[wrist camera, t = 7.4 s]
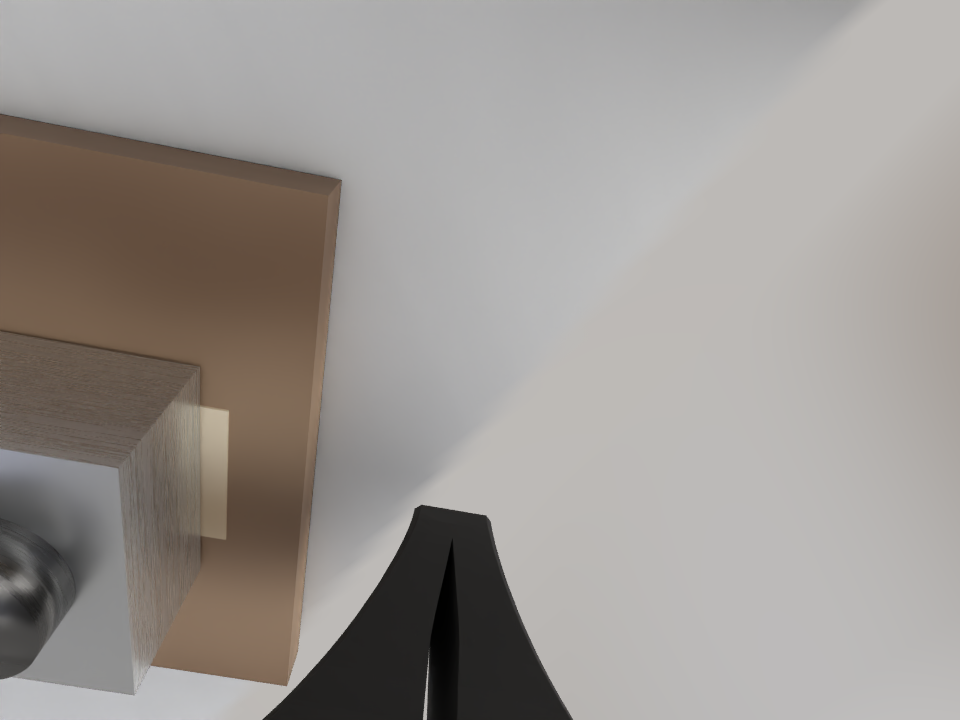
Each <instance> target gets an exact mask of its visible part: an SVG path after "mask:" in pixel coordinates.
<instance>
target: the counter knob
mask: <svg viewBox="0 0 960 720" xmlns="http://www.w3.org/2000/svg"><path fill="white" fill-rule="evenodd" d="M199 571H200V366H194V365H188V364H182V363H177V362H171V361H165V360H160V359H154V358H148V357H143V356H137V355H131V354H126V353H120V352H114V351H109V350H103V349H97V348H92V347H86V346H80V345H75V344H69V343H63V342H58V341H52V340H46V339H41V338H35V337H29V336H24V335H18V334H12V333H7V332H1V331H0V679H5V678H9V677H15V678H22V679H28V680H35V681H42V682H48V683H55V684H62V685H69V686H75V687H82V688H89V689H95V690H102V691H109V692H116V693H122V694H129V695H135V694H136V692H137V690H138V688H139V686H140V684H141V682H142V680H143V678H144V676H145V674H146V673H147V671H148V669H149V667H150V665H151V663H152V661H153V659H154V657H155V655H156V653H157V651H158V650H159V648H160V646H161V644H162V642H163V640H164V638H165V636H166V634H167V632H168V630H169V629H170V627H171V625H172V623H173V621H174V619H175V617H176V615H177V613H178V611H179V609H180V607H181V606H182V604H183V602H184V600H185V598H186V596H187V594H188V592H189V590H190V588H191V586H192V585H193V583H194V581H195V579H196V577H197V575H198V573H199Z"/></svg>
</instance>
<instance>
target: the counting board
mask: <svg viewBox="0 0 960 720" xmlns="http://www.w3.org/2000/svg"><path fill="white" fill-rule="evenodd" d="M341 181H342V180H338V179H333V178H328V177H323V176H317V175H312V174H307V173H302V172H297V171H292V170H286V169H281V168H276V167H271V166H266V165H261V164H255V163H250V162H245V161H240V160H235V159H230V158H224V157H219V156H214V155H209V154H204V153H199V152H193V151H188V150H183V149H178V148H173V147H167V146H162V145H157V144H152V143H147V142H142V141H136V140H131V139H126V138H121V137H116V136H111V135H105V134H100V133H95V132H90V131H85V130H80V129H74V128H69V127H64V126H59V125H54V124H49V123H43V122H38V121H33V120H28V119H23V118H18V117H12V116H7V115H2V114H0V331H1V332H7V333H12V334H18V335H24V336H29V337H35V338H41V339H46V340H52V341H58V342H63V343H69V344H75V345H80V346H86V347H92V348H97V349H103V350H109V351H114V352H120V353H126V354H131V355H137V356H143V357H148V358H154V359H160V360H165V361H171V362H177V363H182V364H188V365H194V366H200V571H199V573H198V575H197V577H196V579H195V581H194V583H193V585H192V586H191V588H190V590H189V592H188V594H187V596H186V598H185V600H184V602H183V604H182V606H181V607H180V609H179V611H178V613H177V615H176V617H175V619H174V621H173V623H172V625H171V627H170V629H169V630H168V632H167V634H166V636H165V638H164V640H163V642H162V644H161V646H160V648H159V650H158V651H157V653H156V655H155V657H154V659H153V661H152V663H151V666H157V667H164V668H171V669H177V670H184V671H190V672H197V673H204V674H210V675H217V676H223V677H230V678H237V679H243V680H250V681H256V682H263V683H270V684H277V685H283V686H287V684H288V681H289V678H290V675H291V671H292V668H293V665H294V662H295V659H296V655H297V652H298V645H299V634H300V623H301V612H302V602H303V591H304V580H305V569H306V558H307V548H308V537H309V526H310V515H311V505H312V494H313V483H314V472H315V461H316V451H317V440H318V429H319V418H320V408H321V397H322V386H323V375H324V364H325V354H326V343H327V332H328V321H329V311H330V300H331V289H332V278H333V267H334V257H335V246H336V235H337V224H338V214H339V203H340V192H341Z"/></svg>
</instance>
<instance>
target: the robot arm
mask: <svg viewBox="0 0 960 720" xmlns="http://www.w3.org/2000/svg"><path fill="white" fill-rule="evenodd" d="M428 657H429V674H428V705H427V720H573V719H572V717H571V715H570V714H569V712H568V710H567V709H566V707H565V705H564V704H563V702H562V700H561V698H560V697H559V695H558V693H557V691H556V690H555V688H554V686H553V684H552V682H551V681H550V679H549V677H548V675H547V673H546V671H545V669H544V667H543V665H542V663H541V661H540V659H539V657H538V655H537V653H536V651H535V649H534V647H533V645H532V643H531V640H530V638H529V636H528V634H527V631H526V629H525V627H524V625H523V622H522V620H521V617H520V615H519V613H518V610H517V607H516V605H515V602H514V600H513V597H512V594H511V592H510V589H509V587H508V584H507V581H506V578H505V575H504V572H503V569H502V566H501V563H500V559H499V556H498V552H497V549H496V545H495V541H494V537H493V532H492V527H491V522H490V520H489V519H488V518H487V516H485V515H479V514H473V513H467V512H461V511H455V510H449V509H443V508H437V507H431V506H425V505H421V506H419V507H417V508H415V510H414V514H413V518H412V521H411V523H410V526H409V529H408V531H407V533H406V535H405V538H404V540H403V542H402V544H401V546H400V547H399V549H398V551H397V553H396V555H395V557H394V559H393V561H392V562H391V564H390V565H389V567H388V569H387V570H386V572H385V574H384V575H383V577H382V579H381V581H380V582H379V584H378V585H377V587H376V588H375V590H374V591H373V593H372V594H371V596H370V597H369V598H368V600H367V601H366V603H365V604H364V606H363V607H362V609H361V610H360V611H359V613H358V614H357V616H356V617H355V619H354V620H353V621H352V622H351V624H350V625H349V626H348V628H347V629H346V630H345V632H344V633H343V634H342V635H341V636H340V638H339V639H338V641H336V643H335V644H334V645H333V646H332V648H331V649H330V650H329V651H328V652H327V654H326V655H325V656H324V657H323V658H322V659H321V660H320V662H319V663H318V664H317V665H316V666H315V667H314V668H313V669H312V670H311V671H310V672H309V674H308V675H307V676H306V677H305V678H304V679H303V680H302V681H301V682H300V683H299V685H298V686H297V687H296V688H295V689H294V690H293V691H292V692H291V693H290V694H289V695H288V696H287V697H286V698H285V699H284V700H283V701H282V702H281V703H280V704H279V705H278V706H277V707H276V708H274V709H273V710H272V711H271V712H270V713H269V714H268V715H267V716H266V717H265V718H264V719H263V720H423V711H424V699H425V689H426V678H427V667H428Z"/></svg>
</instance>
